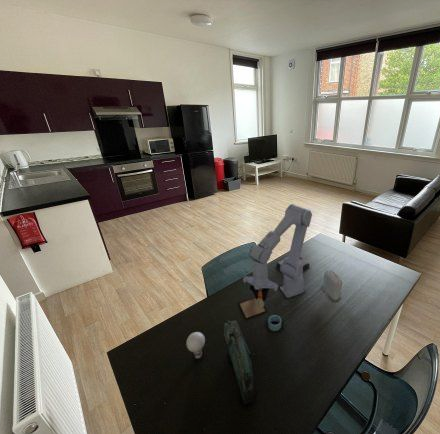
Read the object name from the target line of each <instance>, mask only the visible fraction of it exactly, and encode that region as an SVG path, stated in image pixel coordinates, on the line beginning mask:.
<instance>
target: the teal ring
mask: <svg viewBox="0 0 440 434" xmlns="http://www.w3.org/2000/svg"><path fill="white" fill-rule="evenodd" d="M272 322H277V323H278V324H273V323H272ZM282 323H283V321H282V318H281V316H280V315H278V314H271V316H269V317H268V319H267V327H268V329H269V330H270V331H273V332H278V331H279V330H280V329H281V328H282Z"/></svg>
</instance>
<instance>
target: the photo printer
mask: <svg viewBox="0 0 440 434" xmlns="http://www.w3.org/2000/svg"><path fill="white" fill-rule="evenodd" d="M342 287H343V280H342V278H341V277H340V276H339V274H338V273H337V272H336V271H335V270H333V269H332V268H326V269H325V271H324V274H323V282H322V288H323V290H324V291H325V293H326V294H327V295H328V296H329V297H330V298H331V299H332V300H333V301H338V300H339V298H340V297H341V291H342Z"/></svg>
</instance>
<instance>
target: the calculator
mask: <svg viewBox="0 0 440 434" xmlns="http://www.w3.org/2000/svg"><path fill="white" fill-rule="evenodd" d="M299 259H300V261H301V262H302V264H303V272H304V271H307V270H308V269H309V268H310V263H309V261H307V260H305V259H304V258H302V257H301V256H300V258H299ZM282 262H283V259H281V260H279V261H277V262H276V269H277V270H278V271H280V266H281V264H282Z"/></svg>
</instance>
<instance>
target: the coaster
mask: <svg viewBox="0 0 440 434" xmlns="http://www.w3.org/2000/svg"><path fill="white" fill-rule="evenodd" d="M239 306H240V308H241V310H242V312H243V314H244V317H245V319H248V318H251V317H254V316H257V315H259V314H262V313H265V312H266V309H265V308H264V306H263V307H259V306H258V299H256V298H255V297H254V298H251V299H249V300H246V301H243V302H241V303H239Z"/></svg>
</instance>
